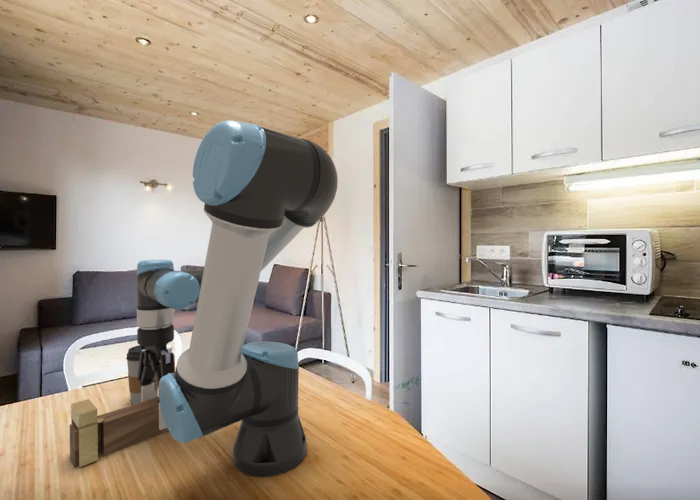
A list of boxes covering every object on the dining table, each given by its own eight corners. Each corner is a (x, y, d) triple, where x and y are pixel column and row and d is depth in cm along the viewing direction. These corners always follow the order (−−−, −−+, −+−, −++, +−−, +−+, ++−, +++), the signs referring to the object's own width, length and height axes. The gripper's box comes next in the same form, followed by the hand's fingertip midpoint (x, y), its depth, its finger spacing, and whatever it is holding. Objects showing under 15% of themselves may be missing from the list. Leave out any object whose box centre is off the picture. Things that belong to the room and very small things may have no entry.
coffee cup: (145, 409, 91) (145, 353, 91) (119, 406, 93) (118, 351, 93) (168, 396, 100) (167, 344, 99) (143, 393, 101) (142, 342, 101)
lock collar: (97, 460, 70) (97, 409, 70) (79, 467, 68) (78, 414, 67) (89, 447, 74) (88, 399, 74) (71, 453, 72) (71, 403, 72)
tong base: (184, 424, 84) (184, 394, 84) (74, 467, 68) (74, 430, 68) (176, 418, 87) (176, 389, 87) (70, 458, 71) (69, 422, 71)
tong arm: (183, 424, 84) (183, 396, 84) (103, 455, 72) (103, 422, 72) (180, 421, 86) (180, 393, 85) (101, 452, 73) (100, 419, 73)
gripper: (194, 331, 76) (194, 429, 77) (154, 315, 91) (155, 398, 92) (157, 338, 71) (158, 444, 71) (121, 320, 85) (122, 409, 86)
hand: (156, 418), depth 81 cm, fingers open, 10 cm apart
